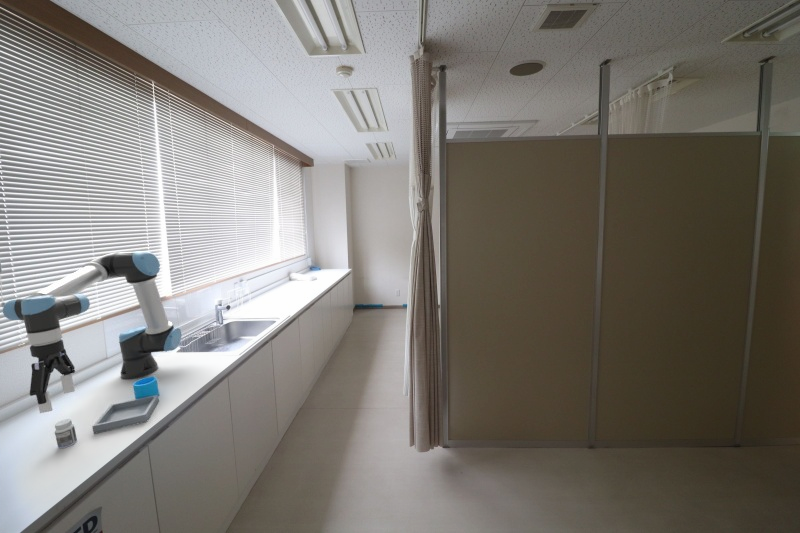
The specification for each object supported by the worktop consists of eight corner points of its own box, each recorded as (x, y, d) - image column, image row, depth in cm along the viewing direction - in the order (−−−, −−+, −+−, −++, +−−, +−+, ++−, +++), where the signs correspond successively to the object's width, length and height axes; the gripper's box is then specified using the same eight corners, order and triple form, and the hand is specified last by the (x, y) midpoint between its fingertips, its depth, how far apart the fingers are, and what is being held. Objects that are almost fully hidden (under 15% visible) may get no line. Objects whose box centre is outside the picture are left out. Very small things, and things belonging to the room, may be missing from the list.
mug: (153, 402, 138) (150, 384, 137) (131, 405, 136) (128, 387, 135) (167, 388, 150) (164, 371, 148) (147, 391, 148) (144, 374, 147)
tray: (112, 411, 132) (111, 404, 132) (159, 401, 138) (158, 394, 138) (93, 433, 118) (92, 426, 117) (147, 421, 124) (145, 414, 123)
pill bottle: (66, 440, 115) (62, 418, 114) (81, 438, 115) (76, 417, 114) (53, 449, 110) (48, 427, 109) (68, 448, 111) (63, 425, 109)
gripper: (53, 333, 117) (64, 387, 120) (3, 358, 95) (18, 424, 97) (80, 329, 120) (90, 382, 123) (37, 353, 97) (51, 417, 100)
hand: (58, 401), depth 110 cm, fingers open, 13 cm apart
